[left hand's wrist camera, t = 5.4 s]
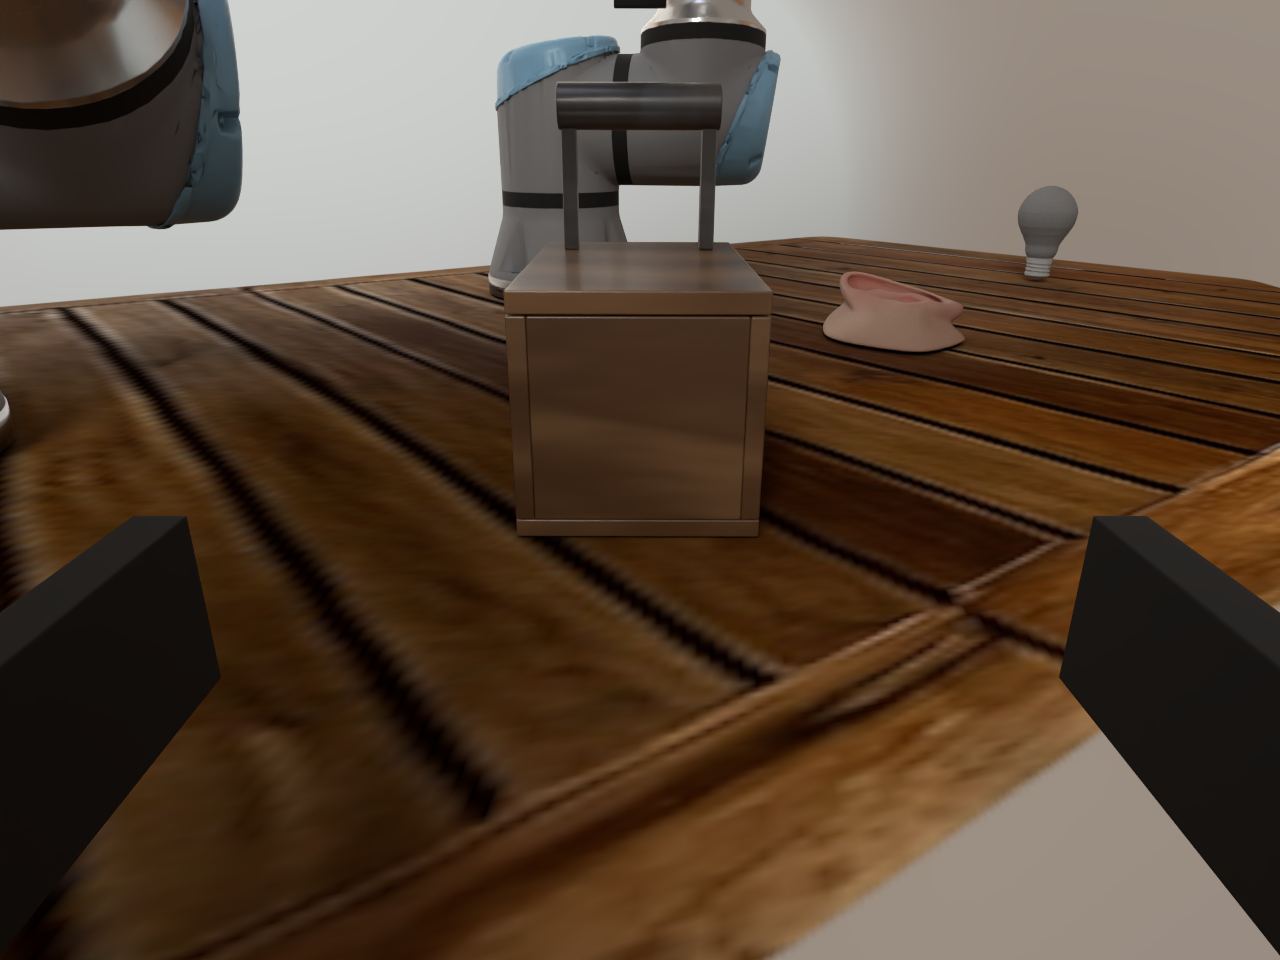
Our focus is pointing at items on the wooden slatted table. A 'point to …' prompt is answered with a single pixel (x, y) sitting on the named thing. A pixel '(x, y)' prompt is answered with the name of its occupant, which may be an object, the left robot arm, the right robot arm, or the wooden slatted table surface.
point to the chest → (638, 423)
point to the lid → (638, 269)
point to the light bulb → (1045, 226)
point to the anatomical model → (892, 316)
